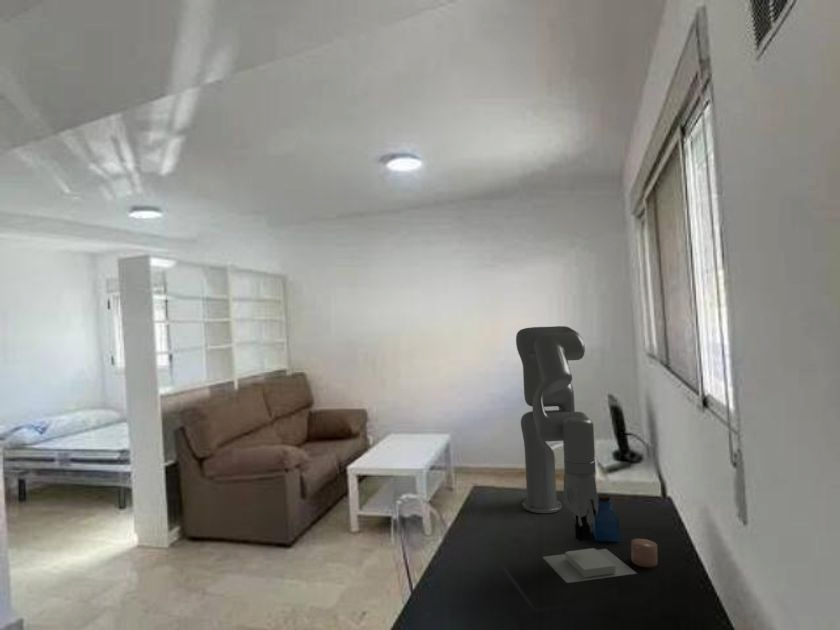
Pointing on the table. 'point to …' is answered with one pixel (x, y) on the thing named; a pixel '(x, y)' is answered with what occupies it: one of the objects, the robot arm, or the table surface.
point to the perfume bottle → (606, 521)
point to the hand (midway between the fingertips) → (582, 539)
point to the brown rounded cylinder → (644, 552)
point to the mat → (573, 575)
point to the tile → (590, 562)
